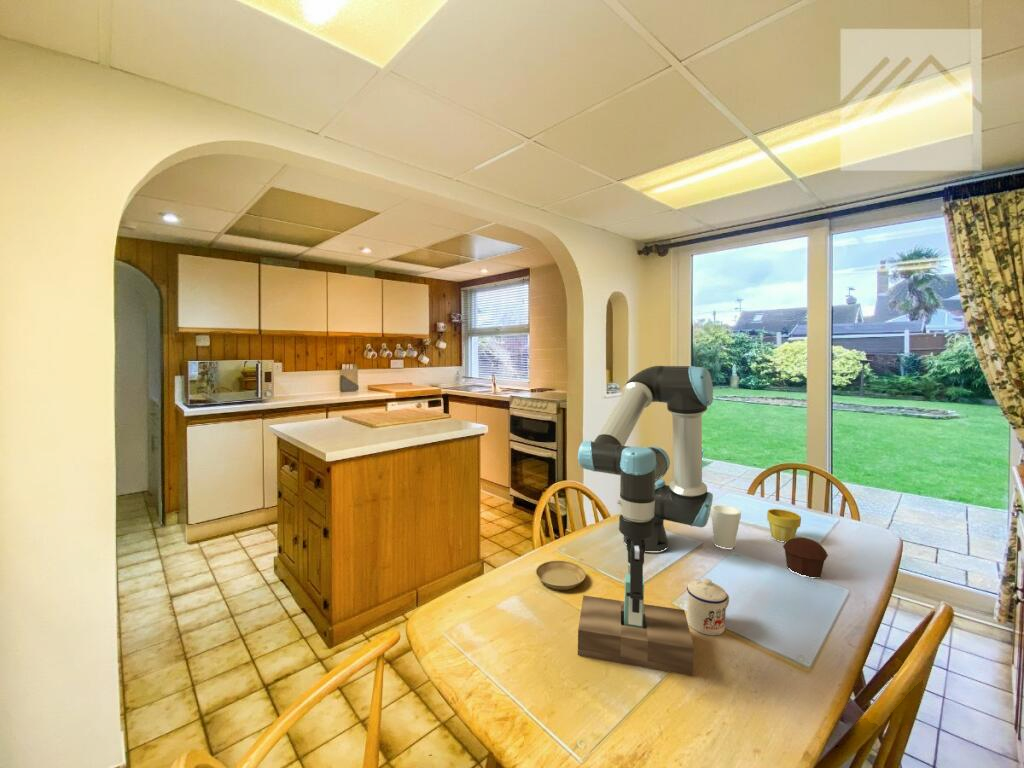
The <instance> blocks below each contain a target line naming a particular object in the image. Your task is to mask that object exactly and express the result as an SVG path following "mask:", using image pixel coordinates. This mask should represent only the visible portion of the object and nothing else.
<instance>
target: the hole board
mask: <svg viewBox="0 0 1024 768" xmlns="http://www.w3.org/2000/svg"><path fill="white" fill-rule="evenodd" d="M624 605H625V600H624V601H623V600H618V599H611V598H605V597H595V596H590V595H583V596H582V603H581V609H580V615H579V623H578V628H577V656H578V655H580V656H579V657H583V656H585V657H584V658H589V657H590V659H594V660H602V661H606V662H611V663H612V662H613V663H616V664H617V663H619V664H623V665H629V666H635V667H640V668H646V669H651V670H658V671H664V672H668V673H674V674H679V675H686V676H689V677H693V676H694V664H695V647H694V642H693V638H692V634H691V631H690V627H689V626H690V625H689V624H688V622H687V613H686V612H685V609H680V608H674V607H666V606H659V605H653V604H646V603H645V604H643V628H637V627H631V626H625V625H624Z"/></svg>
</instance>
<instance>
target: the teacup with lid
mask: <svg viewBox="0 0 1024 768" xmlns="http://www.w3.org/2000/svg"><path fill="white" fill-rule="evenodd" d="M686 590H687V605H686V606H687V608H686V609H687V610H686V618H687V622H688V626H690V628H692V629H693V630H694V631H696V632H698V633H700V634H702V635H706V636H707V635H708V636H719V635H721V634H723V633H724V631H725V630H726V614H727V613H726V610H727V608H728V606H729V602H730V595H729V593H728V592H727V591H726V590H725V589H724V588H723V587H721V586H720V585H718V584H717V583H714V582H712V580H711V578H708V577H705V578H703V579H700V580H697V579H696V580H693V581H690V582H689V584H687V587H686Z"/></svg>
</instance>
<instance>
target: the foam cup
mask: <svg viewBox="0 0 1024 768" xmlns="http://www.w3.org/2000/svg"><path fill="white" fill-rule="evenodd" d="M741 515H742V511H741V510H740V509H738V508H736V507H734V506H730V505H724V504H715V505H712V506H711V510H710V516H711V524H712V525H711V527H712V535H713V543H715V544H716V545H718V546H721V547H725V548H732V547H734V548H735V545H736V542H737V541H736V539H737V535H738V530H739V525H740V522H741V517H742V516H741ZM715 544H714V545H715Z"/></svg>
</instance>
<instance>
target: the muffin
mask: <svg viewBox="0 0 1024 768" xmlns="http://www.w3.org/2000/svg"><path fill="white" fill-rule="evenodd" d="M782 548H783V549H784V554H785V559H786V560H785V562H786V568H787V567H788V568H790V569H791V570H792V571H794V572H797V573H799V574H801V575H806V576H809V577H820V578H821V575H822V573H823V568H824V565H825V561H826V560H827V559H828V556H829V554H828V553H827V550H826V549H825V548H824V547H823V546H822V545H821V544H820V543H819V542H817V541H815V540H813V539H810V538H807V537H794V538H793V539H790V540H788V541H787V542H786V543H783V545H782ZM788 568H787V569H788Z"/></svg>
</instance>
